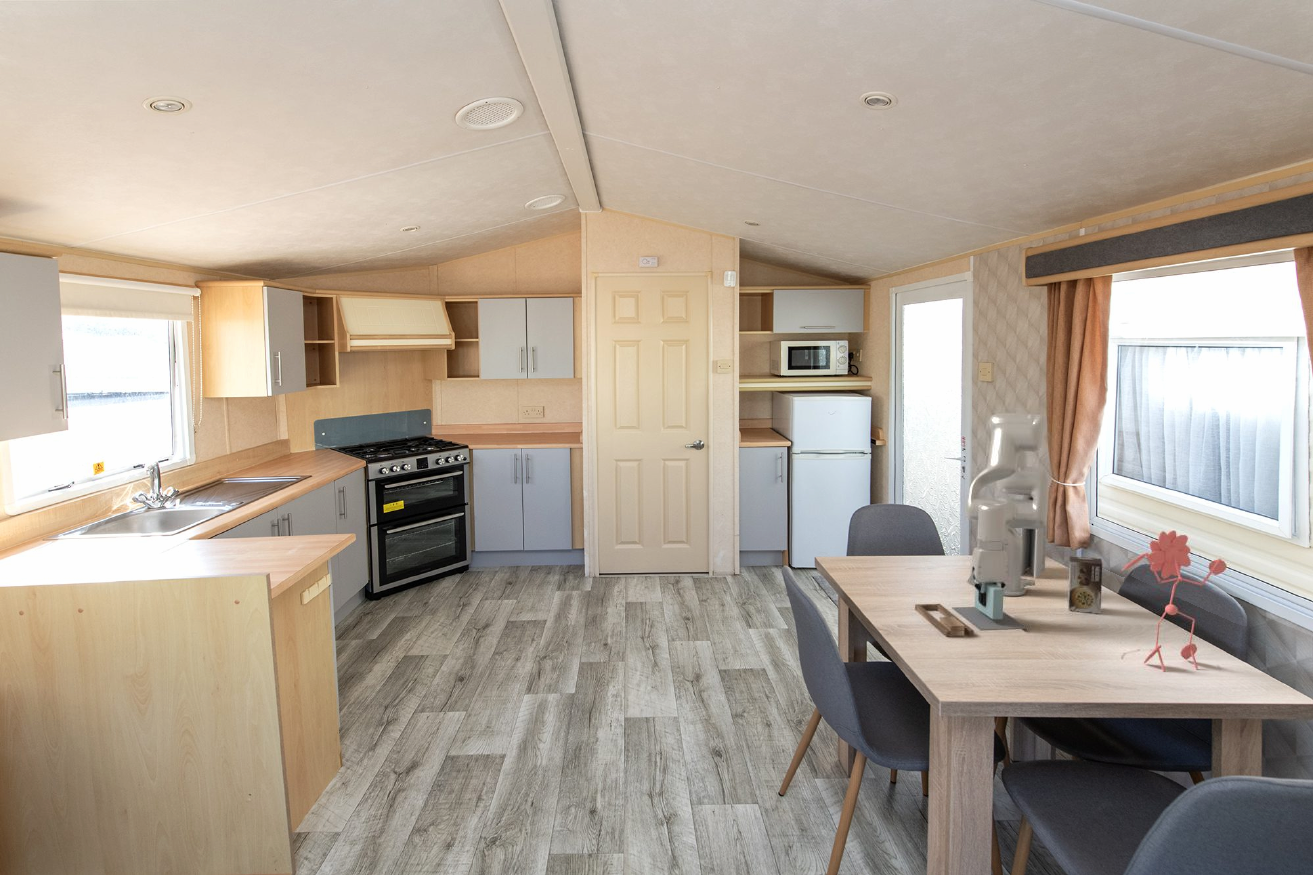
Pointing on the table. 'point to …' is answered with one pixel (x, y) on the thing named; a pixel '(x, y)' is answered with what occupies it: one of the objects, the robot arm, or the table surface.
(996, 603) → the teal rectangular block
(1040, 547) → the grey upright slab
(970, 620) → the mat
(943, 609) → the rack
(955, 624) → the offcut top
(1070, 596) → the coffee box
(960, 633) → the block
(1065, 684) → the table surface
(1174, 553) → the figurine
